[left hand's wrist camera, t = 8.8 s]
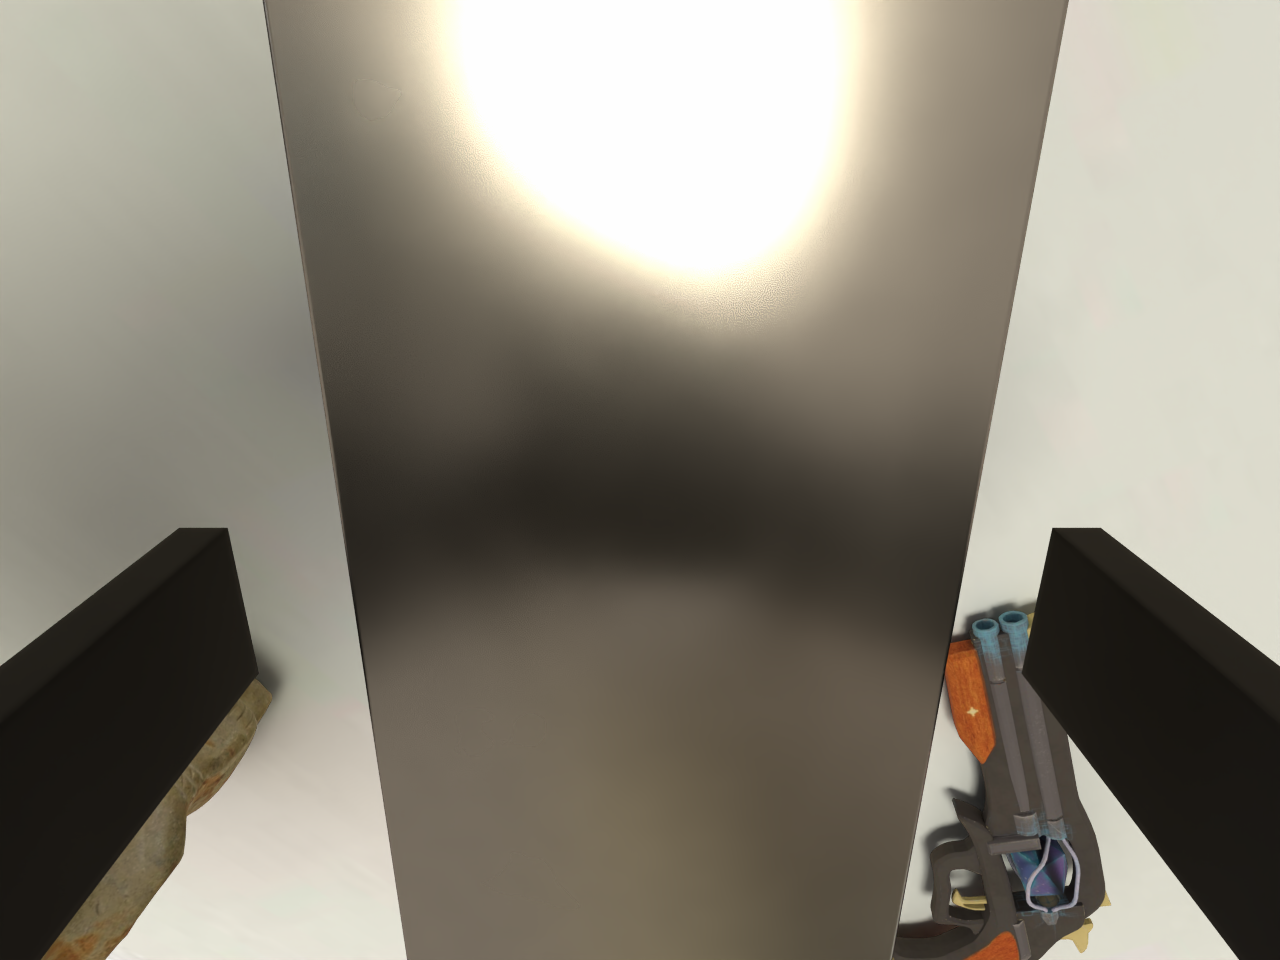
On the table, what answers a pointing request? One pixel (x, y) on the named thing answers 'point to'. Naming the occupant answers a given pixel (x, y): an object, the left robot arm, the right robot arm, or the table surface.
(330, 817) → the table surface
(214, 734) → the sculpture
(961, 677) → the toy gun
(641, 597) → the bar
